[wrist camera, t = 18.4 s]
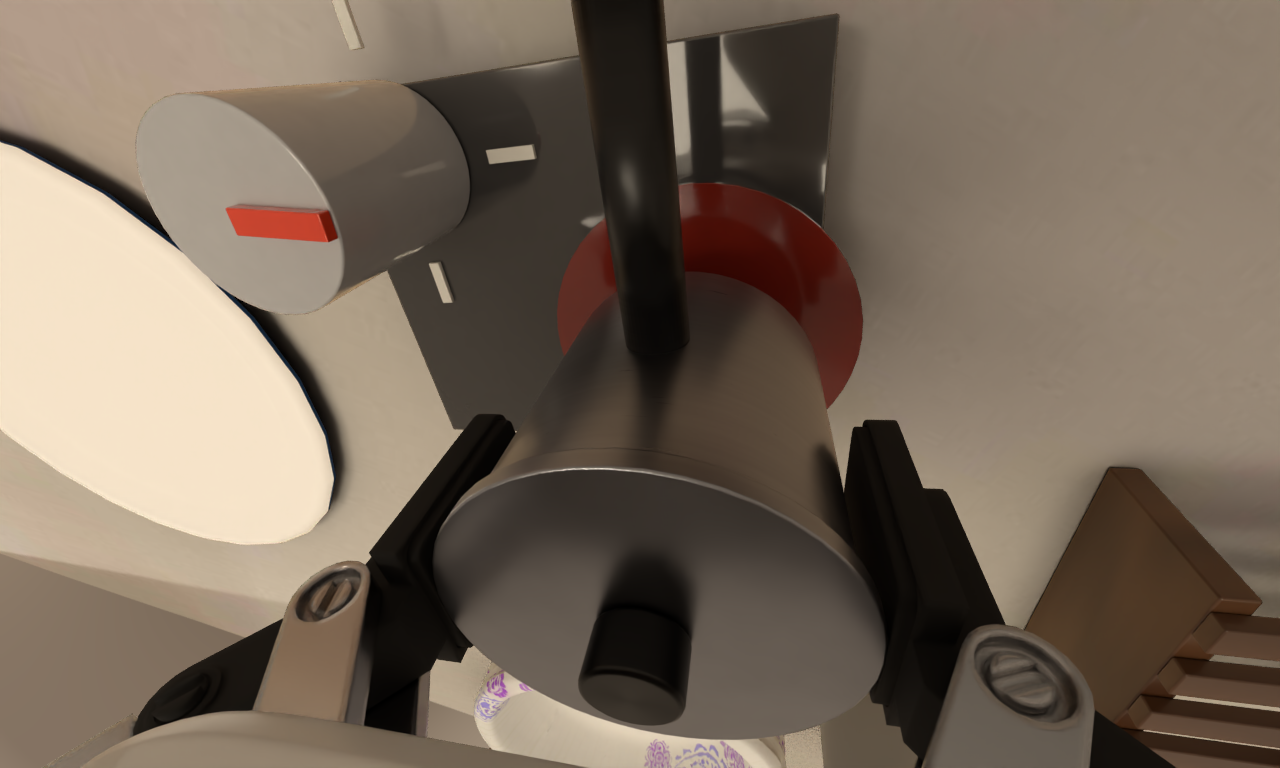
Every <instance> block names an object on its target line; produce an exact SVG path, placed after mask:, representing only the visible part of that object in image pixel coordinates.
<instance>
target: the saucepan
mask: <svg viewBox="0 0 1280 768" xmlns="http://www.w3.org/2000/svg"><path fill="white" fill-rule="evenodd" d="M571 6H572V12H573V18H574V24H575V31H576V37H577V43H578V49H579V56H580V62H581V68H582V74H583V81H584V87H585V93H586V99H587V106H588V112H589V118H590V124H591V131H592V137H593V143H594V149H595V156H596V162H597V168H598V174H599V181H600V187H601V193H602V199H603V206H604V212H605V218H606V224H607V231H608V237H609V243H610V249H611V256H612V262H613V268H614V274H615V281H616V287H617V292H615V293H614V294H613V295H611V296H610V297H609V298H607V299H606V300H605V301H604V302H602V304H601V305H600V306H599V307H598V308H597V309H596V310H595V311H594V312H593V313H592V315H591V316H590V317H589V319H588V320H587V322H586V323H585V325H584V326H583V328H582V329H581V331H580V333H579V334H578V336H577V337H576V339H575V340H574V342H573V344H572V345H571V347H570V348H569V350H568V352H567V353H566V355H565V356H564V358H563V359H562V361H561V363H560V364H559V366H558V367H557V369H556V371H555V372H554V374H553V375H552V377H551V378H550V380H549V382H548V383H547V385H546V386H545V388H544V390H543V391H542V393H541V394H540V396H539V398H538V399H537V401H536V402H535V404H534V405H533V407H532V409H531V410H530V412H529V413H528V415H527V417H526V418H525V420H524V421H523V423H522V424H521V426H520V428H519V429H518V431H517V432H516V434H515V436H514V437H513V439H512V440H511V442H510V443H509V445H508V447H507V448H506V450H505V451H504V453H503V455H502V456H501V458H500V459H499V461H498V462H497V464H496V466H495V467H494V469H493V470H492V472H491V474H490V475H488V476H486V477H485V478H483V479H482V480H480V481H478V482H477V483H476V484H475V485H473V486H472V487H471V488H470V489H469V490H468V491H467V492H466V493H465V494H464V495H463V496H462V497H461V498H460V500H459V501H458V502H457V504H456V505H455V507H454V508H453V510H452V511H451V513H450V514H449V516H448V517H447V519H446V520H445V522H444V523H443V525H442V526H441V528H440V530H439V533H438V536H437V538H436V541H435V544H434V551H433V559H432V566H433V577H434V581H435V585H436V588H437V592H438V595H439V597H440V599H441V601H442V603H443V605H444V607H445V609H446V611H447V612H448V614H449V615H450V617H451V618H452V620H453V622H454V623H455V625H456V626H457V627H458V628H459V629H460V631H461V632H462V633H463V634H464V635H465V637H466V638H467V639H468V640H469V641H470V642H471V643H472V644H473V645H474V646H475V647H476V648H477V649H478V650H479V651H480V652H481V653H482V654H484V655H485V656H486V657H487V658H488V659H490V660H491V661H492V662H493V663H495V664H496V665H497V666H498V667H500V668H501V669H503V670H504V671H505V672H507V673H508V674H510V675H511V676H513V677H514V678H515V679H517V680H519V681H520V682H522V683H524V684H525V685H527V686H529V687H530V688H532V689H534V690H536V691H537V692H539V693H541V694H543V695H545V696H547V697H549V698H551V699H553V700H555V701H557V702H559V703H562V704H564V705H566V706H569V707H571V708H573V709H575V710H578V711H581V712H583V713H586V714H589V715H591V716H594V717H597V718H600V719H603V720H606V721H609V722H613V723H616V724H619V725H623V726H627V727H631V728H635V729H639V730H643V731H648V732H653V733H658V734H663V735H670V736H678V737H685V738H696V739H709V740H743V739H759V738H767V737H774V736H781V735H785V734H790V733H795V732H799V731H803V730H806V729H809V728H812V727H815V726H818V725H821V724H823V723H825V722H827V721H830V720H832V719H834V718H836V717H838V716H840V715H841V714H843V713H845V712H846V711H848V710H849V709H851V708H852V707H854V706H855V705H856V704H857V703H859V702H860V701H861V700H862V699H863V698H864V697H865V696H866V695H867V694H868V693H869V692H870V691H871V689H872V688H873V686H874V685H875V684H876V682H877V681H878V679H879V677H880V675H881V672H882V670H883V668H884V665H885V661H886V656H887V649H888V634H887V626H886V620H885V615H884V611H883V607H882V602H881V600H880V597H879V594H878V591H877V589H876V586H875V583H874V581H873V579H872V577H871V576H870V574H869V572H868V571H867V569H866V567H865V566H864V564H863V562H862V561H861V559H860V558H859V557H858V556H857V555H856V551H855V546H854V541H853V536H852V531H851V526H850V521H849V516H848V511H847V507H846V502H845V497H844V492H843V487H842V482H841V477H840V472H839V467H838V462H837V457H836V452H835V447H834V442H833V438H832V433H831V428H830V423H829V418H828V413H827V408H826V403H825V398H824V393H823V388H822V383H821V378H820V374H819V369H818V364H817V359H816V356H815V353H814V350H813V347H812V345H811V343H810V341H809V339H808V337H807V335H806V333H805V332H804V330H803V329H802V327H801V326H800V325H799V323H798V322H797V321H796V319H795V318H794V317H793V316H792V315H791V314H790V313H789V312H788V311H787V310H786V309H785V308H784V307H783V306H782V305H781V304H779V303H778V302H777V301H775V300H774V299H773V298H771V297H770V296H769V295H767V294H765V293H764V292H762V291H760V290H758V289H757V288H755V287H753V286H751V285H749V284H746V283H744V282H741V281H739V280H736V279H733V278H729V277H726V276H722V275H718V274H712V273H704V272H685V266H684V253H683V240H682V228H681V215H680V202H679V190H678V177H677V165H676V152H675V139H674V127H673V114H672V101H671V89H670V76H669V63H668V51H667V38H666V26H665V13H664V0H571Z"/></svg>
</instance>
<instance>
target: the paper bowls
mask: <svg viewBox="0 0 1280 768" xmlns="http://www.w3.org/2000/svg"><path fill="white" fill-rule="evenodd" d="M474 717H475V721H476V725H477V727H478V730H479V732H480V734H481V736H482V737H483V739H484V740H485V742H486V743H487V744H488V745H489V747H490V748H491V749H492V750H497V751H502V752H508V753H513V754H518V755H524V756H529V757H534V758H540V759H545V760H550V761H555V762H561V763H566V764H571V765H577V766H582V767H587V768H786V761H785V739H784V735H781V736H774V737H767V738H759V739H743V740H709V739H696V738H685V737H678V736H670V735H663V734H658V733H653V732H648V731H643V730H639V729H635V728H631V727H627V726H623V725H619V724H616V723H613V722H609V721H606V720H603V719H600V718H597V717H594V716H591V715H589V714H586V713H583V712H581V711H578V710H575V709H573V708H571V707H569V706H566V705H564V704H562V703H559V702H557V701H555V700H553V699H551V698H549V697H547V696H545V695H543V694H541V693H539V692H537V691H536V690H534V689H532V688H530V687H529V686H527V685H525V684H524V683H522V682H520V681H519V680H517V679H515V678H514V677H513V676H511V675H510V674H508V673H507V672H505V671H504V670H503V669H501V668H500V667H498V666H497V665H496V664H495V663H493V662H491V665H490V667H489V670H488V673H487V675H486V678H485V680H484V683H483V685H482V687H481V689H480V690H479V691H478V693H477V696H476V698H475V705H474Z"/></svg>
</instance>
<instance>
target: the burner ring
mask: <svg viewBox="0 0 1280 768" xmlns="http://www.w3.org/2000/svg"><path fill="white" fill-rule="evenodd" d="M678 190H679V202H680V215H681V228H682V240H683V253H684V266H685V272H704V273H712V274H718V275H722V276H726V277H729V278H733V279H736V280H739V281H741V282H744V283H746V284H749V285H751V286H753V287H755V288H757V289H758V290H760V291H762V292H764V293H765V294H767V295H769V296H770V297H771V298H773V299H774V300H775V301H777V302H778V303H779V304H781V305H782V306H783V307H784V308H785V309H786V310H787V311H788V312H789V313H790V314H791V315H792V316H793V317H794V318H795V319H796V321H797V322H798V323H799V325H800V326H801V327H802V329H803V330H804V332H805V333H806V335H807V337H808V339H809V341H810V343H811V345H812V347H813V350H814V353H815V356H816V359H817V364H818V369H819V374H820V378H821V383H822V388H823V393H824V398H825V403H826V408H827V409H828V407H829V406H830V405H831V404H832V403H833V402H834V401H835V399H836V398H837V397H838V395H839V394H840V393H841V391H842V390H843V388H844V387H845V385H846V383H847V381H848V379H849V378H850V376H851V374H852V371H853V369H854V366H855V364H856V361H857V358H858V355H859V350H860V345H861V341H862V328H863V315H862V306H861V299H860V295H859V291H858V288H857V284H856V280H855V278H854V276H853V274H852V271H851V269H850V267H849V265H848V263H847V261H846V259H845V257H844V256H843V254H842V253H841V251H840V250H839V248H838V247H837V245H836V244H835V242H834V241H833V240H832V239H831V238H830V237H829V236H828V235H827V234H826V232H825V231H824V230H823V229H822V228H821V227H820V226H819V225H818V224H816V223H815V222H814V221H813V220H812V219H810V218H809V217H808V216H807V215H805V214H804V213H803V212H802V211H800V210H798V209H796V208H795V207H793V206H791V205H790V204H788V203H786V202H785V201H783V200H781V199H779V198H776V197H774V196H771V195H769V194H767V193H764V192H762V191H759V190H755V189H751V188H747V187H743V186H739V185H733V184H724V183H716V182H705V183H686V184H680V185H678ZM615 292H617V287H616V281H615V274H614V268H613V262H612V256H611V249H610V243H609V237H608V231H607V224H606V218H604V219H603V220H602V221H601V222H599V223H598V224H597V225H596V226H595V227H594V228H593V229H592V230H591V231H590V233H589V234H588V235H587V236H586V237H585V239H584V240H583V241H582V242H581V243H580V245H579V246H578V248H577V250H576V251H575V253H574V255H573V256H572V258H571V260H570V262H569V264H568V267H567V269H566V271H565V274H564V276H563V280H562V284H561V288H560V291H559V298H558V307H557V322H558V332H559V338H560V344H561V347H562V350H563V354H564V356H565V355H566V353H567V352H568V350H569V348H570V347H571V345H572V344H573V342H574V340H575V339H576V337H577V336H578V334H579V333H580V331H581V329H582V328H583V326H584V325H585V323H586V322H587V320H588V319H589V317H590V316H591V315H592V313H593V312H594V311H595V310H596V309H597V308H598V307H599V306H600V305H601V304H602V302H604V301H605V300H606V299H607V298H609V297H610V296H611V295H613V294H614V293H615Z"/></svg>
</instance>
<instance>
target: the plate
mask: <svg viewBox="0 0 1280 768" xmlns="http://www.w3.org/2000/svg"><path fill="white" fill-rule="evenodd" d="M0 430H2V431H3V432H4V433H5V434H6V435H7V436H9V437H10V438H11V439H13V440H14V441H16V442H17V443H19V444H20V445H21V446H23V447H24V448H26V449H27V450H28V451H30V452H31V453H33V454H34V455H36V456H37V457H38V458H40V459H41V460H43V461H44V462H46V463H47V464H48V465H50V466H51V467H53V468H54V469H56V470H57V471H58V472H60V473H62V474H63V475H65V476H67V477H68V478H70V479H72V480H74V481H75V482H77V483H79V484H81V485H82V486H84V487H86V488H87V489H89V490H91V491H93V492H94V493H96V494H98V495H100V496H101V497H103V498H105V499H106V500H108V501H110V502H112V503H115V504H117V505H119V506H121V507H123V508H125V509H128V510H130V511H132V512H134V513H136V514H139V515H141V516H143V517H145V518H147V519H150V520H152V521H154V522H156V523H158V524H161V525H165V526H168V527H171V528H174V529H177V530H180V531H183V532H186V533H189V534H192V535H195V536H198V537H201V538H206V539H211V540H217V541H223V542H229V543H235V544H241V545H252V544H274V543H283V542H286V541H288V540H291V539H293V538H296V537H298V536H301V535H303V534H306V533H308V532H310V531H311V530H312V529H313V528H314V526H315V525H316V524H317V523H318V522H319V521H320V520H321V518H322V517H323V516H324V515H325V514H326V513H327V511H328V510H329V509H330V505H331V500H332V495H333V490H334V484H335V479H336V474H335V469H334V464H333V459H332V455H331V450H330V445H329V440H328V435H327V432H326V430H325V428H324V426H323V424H322V422H321V420H320V418H319V416H318V414H317V412H316V410H315V408H314V406H313V404H312V402H311V400H310V398H309V396H308V394H307V392H306V390H305V388H304V386H303V384H302V382H301V380H300V378H299V376H298V375H297V374H296V372H295V371H294V370H293V368H292V367H291V366H290V364H289V363H288V362H287V360H286V359H285V358H284V356H283V355H282V354H281V352H280V351H279V350H278V348H277V347H276V346H275V344H274V343H273V342H272V340H271V339H270V338H269V336H268V335H267V334H266V332H265V331H264V330H263V328H262V327H261V326H260V324H259V323H258V322H257V320H256V319H255V318H254V317H253V316H252V315H251V314H250V313H249V312H248V311H247V310H246V309H245V308H244V307H243V306H242V305H241V304H240V303H239V302H238V301H237V300H236V299H235V298H234V297H233V296H232V295H231V294H230V293H229V292H227V291H225V290H224V289H223V288H221V287H220V286H218V285H217V284H216V283H214V282H213V281H212V280H211V279H210V278H208V277H207V276H206V275H205V274H204V273H202V272H201V271H200V270H199V269H198V268H197V267H196V266H195V265H194V264H193V263H192V262H191V261H190V260H189V259H188V258H187V257H186V256H185V254H184V253H183V252H182V251H181V250H180V249H179V247H178V246H177V245H176V244H175V242H173V241H172V240H171V239H169V238H168V237H167V236H165V235H164V234H163V233H161V232H160V231H159V230H157V229H156V228H155V227H153V226H152V225H150V224H149V223H148V222H146V221H145V220H144V219H142V218H141V217H140V216H138V215H137V214H136V213H134V212H133V211H132V210H130V209H129V208H128V207H126V206H125V205H124V204H122V203H121V202H120V201H118V200H117V199H116V198H114V197H113V196H112V195H110V194H109V193H107V192H106V191H104V190H102V189H100V188H98V187H96V186H94V185H93V184H91V183H89V182H87V181H85V180H83V179H81V178H80V177H78V176H76V175H74V174H72V173H70V172H68V171H66V170H65V169H63V168H61V167H59V166H57V165H55V164H53V163H52V162H50V161H48V160H46V159H44V158H42V157H40V156H38V155H37V154H35V153H33V152H31V151H29V150H27V149H25V148H24V147H21V146H18V145H14V144H11V143H8V142H5V141H1V140H0Z"/></svg>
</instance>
